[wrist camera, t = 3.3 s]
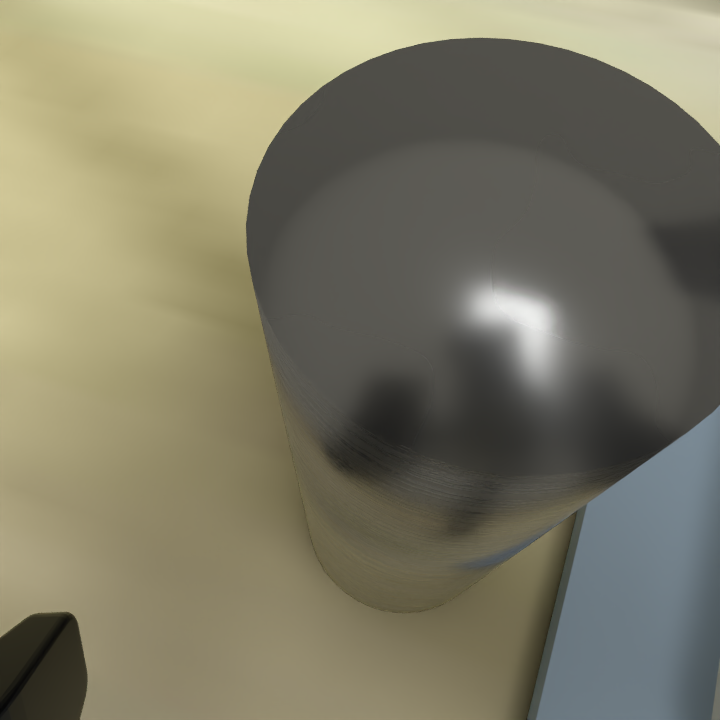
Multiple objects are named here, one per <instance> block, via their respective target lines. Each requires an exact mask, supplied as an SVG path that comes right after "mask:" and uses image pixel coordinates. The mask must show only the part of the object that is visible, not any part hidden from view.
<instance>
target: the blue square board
mask: <svg viewBox="0 0 720 720" xmlns="http://www.w3.org/2000/svg"><path fill="white" fill-rule="evenodd" d="M527 720H720V405H719V406H718V407H717V409H716V410H715V411H714V412H713V413H711V414H710V415H709V416H708V417H706V418H705V419H704V420H702V421H701V422H700V423H699V424H697V425H696V426H695V427H694V428H692V429H691V430H690V431H689V432H687V433H686V434H685V435H683V436H682V437H680V438H679V439H678V440H676V441H675V442H673V443H672V444H670V445H669V446H668V447H666V448H665V449H663V450H662V451H661V452H659V453H658V454H656V455H655V456H654V457H652V458H651V459H649V460H648V461H647V462H645V463H644V464H642V465H641V466H639V467H638V468H637V469H635V470H634V471H632V472H631V473H630V474H628V475H627V476H625V477H624V478H623V479H621V480H620V481H618V482H617V483H616V484H614V485H613V486H611V487H610V488H608V489H607V490H606V491H604V492H603V493H601V494H600V495H599V496H597V497H596V498H594V499H593V500H592V501H590V502H589V503H587V504H586V505H585V506H583V507H582V508H580V509H579V510H578V511H577V515H576V519H575V523H574V527H573V532H572V536H571V540H570V544H569V548H568V552H567V556H566V561H565V565H564V569H563V573H562V577H561V581H560V585H559V589H558V594H557V598H556V602H555V606H554V610H553V614H552V618H551V622H550V627H549V631H548V635H547V639H546V643H545V647H544V651H543V655H542V660H541V664H540V668H539V672H538V676H537V680H536V684H535V689H534V693H533V697H532V701H531V705H530V709H529V713H528V717H527Z"/></svg>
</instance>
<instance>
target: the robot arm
mask: <svg viewBox="0 0 720 720" xmlns="http://www.w3.org/2000/svg"><path fill="white" fill-rule="evenodd" d="M86 691H87V668H86V663H85V658H84V653H83V647H82V642H81V637H80V632H79V627H78V623H77V620H76V618H75V616H74V615H73V614H71V613H69V612H52V613H37V614H33V615H30V616H29V617H27V618H26V619H24V620H23V621H22V622H20V623H19V624H18V625H16V626H15V627H14V628H12V629H11V630H10V631H8V632H7V633H6V634H4V635H3V636H2V637H0V720H80V716H81V712H82V709H83V705H84V701H85V697H86Z"/></svg>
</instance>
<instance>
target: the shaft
mask: <svg viewBox="0 0 720 720" xmlns="http://www.w3.org/2000/svg"><path fill="white" fill-rule="evenodd" d="M246 234H247V255H248V260H249V266H250V271H251V276H252V281H253V286H254V290H255V295H256V299H257V303H258V308H259V312H260V317H261V321H262V325H263V330H264V334H265V339H266V343H267V347H268V352H269V356H270V361H271V365H272V369H273V374H274V378H275V383H276V387H277V391H278V396H279V400H280V405H281V409H282V413H283V418H284V422H285V427H286V431H287V435H288V440H289V444H290V449H291V453H292V457H293V462H294V466H295V471H296V475H297V479H298V484H299V488H300V493H301V497H302V501H303V506H304V510H305V514H306V519H307V523H308V528H309V532H310V536H311V541H312V544H313V547H314V550H315V553H316V555H317V557H318V559H319V561H320V563H321V565H322V567H323V568H324V570H325V571H326V573H327V574H328V575H329V577H330V578H331V579H332V580H333V581H334V582H335V583H336V585H337V586H339V587H340V588H341V589H342V590H343V591H344V592H345V593H347V594H348V595H350V596H351V597H353V598H354V599H356V600H357V601H359V602H361V603H363V604H365V605H367V606H370V607H373V608H376V609H379V610H383V611H388V612H394V613H412V612H421V611H425V610H429V609H433V608H435V607H438V606H440V605H443V604H445V603H446V602H448V601H450V600H452V599H453V598H455V597H456V596H458V595H459V594H461V593H462V592H463V591H465V590H466V589H468V588H469V587H470V586H472V585H473V584H475V583H476V582H478V581H479V580H480V579H482V578H483V577H485V576H486V575H487V574H489V573H490V572H492V571H493V570H494V569H496V568H497V567H499V566H500V565H501V564H503V563H504V562H506V561H507V560H508V559H510V558H511V557H513V556H514V555H516V554H517V553H518V552H520V551H521V550H523V549H524V548H525V547H527V546H528V545H530V544H531V543H532V542H534V541H535V540H537V539H538V538H539V537H541V536H542V535H544V534H545V533H547V532H548V531H549V530H551V529H552V528H554V527H555V526H556V525H558V524H559V523H561V522H562V521H563V520H565V519H566V518H568V517H569V516H570V515H572V514H573V513H575V512H576V511H578V510H579V509H580V508H582V507H583V506H585V505H586V504H587V503H589V502H590V501H592V500H593V499H594V498H596V497H597V496H599V495H600V494H601V493H603V492H604V491H606V490H607V489H608V488H610V487H611V486H613V485H614V484H616V483H617V482H618V481H620V480H621V479H623V478H624V477H625V476H627V475H628V474H630V473H631V472H632V471H634V470H635V469H637V468H638V467H639V466H641V465H642V464H644V463H645V462H647V461H648V460H649V459H651V458H652V457H654V456H655V455H656V454H658V453H659V452H661V451H662V450H663V449H665V448H666V447H668V446H669V445H670V444H672V443H673V442H675V441H676V440H678V439H679V438H680V437H682V436H683V435H685V434H686V433H687V432H689V431H690V430H691V429H692V428H694V427H695V426H696V425H697V424H699V423H700V422H701V421H702V420H704V419H705V418H706V417H708V416H709V415H710V414H711V413H713V412H714V411H715V410H716V409H717V407H718V406H719V405H720V145H719V144H718V143H717V142H716V141H715V140H714V139H713V138H712V137H711V136H710V134H709V133H708V132H707V131H706V130H705V129H704V128H703V127H702V126H701V125H700V124H699V123H698V122H697V121H696V120H695V119H694V118H692V117H691V116H690V115H689V114H688V113H686V112H685V111H684V110H683V109H682V108H680V107H679V106H678V105H677V104H676V103H675V102H673V101H672V100H670V99H669V98H667V97H666V96H664V95H663V94H661V93H660V92H658V91H657V90H656V89H654V88H653V87H651V86H650V85H648V84H646V83H644V82H642V81H641V80H639V79H637V78H635V77H633V76H631V75H630V74H628V73H626V72H624V71H622V70H620V69H617V68H615V67H613V66H611V65H608V64H606V63H604V62H601V61H599V60H597V59H594V58H591V57H588V56H585V55H582V54H579V53H576V52H573V51H570V50H566V49H562V48H557V47H553V46H549V45H544V44H540V43H534V42H526V41H519V40H512V39H495V38H466V39H449V40H442V41H436V42H429V43H422V44H418V45H414V46H410V47H406V48H402V49H398V50H395V51H392V52H389V53H386V54H384V55H381V56H378V57H375V58H373V59H370V60H368V61H366V62H364V63H362V64H360V65H358V66H356V67H354V68H352V69H350V70H348V71H346V72H344V73H342V74H341V75H339V76H338V77H336V78H335V79H333V80H332V81H330V82H329V83H327V84H326V85H324V86H322V87H321V88H320V89H319V90H318V91H317V92H315V93H314V94H313V95H312V96H311V97H309V98H308V99H307V100H306V101H305V102H304V103H302V104H301V105H300V107H299V108H298V109H297V110H296V111H295V112H294V113H293V114H292V115H291V117H290V118H289V119H288V120H287V121H286V122H285V123H284V124H283V126H282V127H281V129H280V130H279V132H278V133H277V135H276V136H275V138H274V139H273V141H272V142H271V144H270V145H269V147H268V149H267V151H266V153H265V156H264V158H263V160H262V162H261V164H260V166H259V168H258V170H257V174H256V177H255V180H254V184H253V187H252V191H251V194H250V199H249V206H248V214H247V222H246Z"/></svg>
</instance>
